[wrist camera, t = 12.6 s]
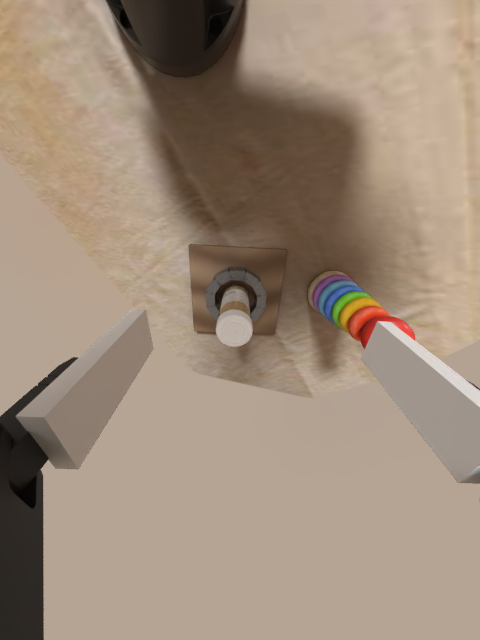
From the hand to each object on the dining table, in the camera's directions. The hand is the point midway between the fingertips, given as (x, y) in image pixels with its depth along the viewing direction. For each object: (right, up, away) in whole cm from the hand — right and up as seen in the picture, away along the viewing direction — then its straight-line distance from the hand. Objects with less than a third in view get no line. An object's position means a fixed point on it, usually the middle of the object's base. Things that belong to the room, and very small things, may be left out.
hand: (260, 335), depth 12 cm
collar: (-2, +5, +24) cm, 25 cm away
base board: (-2, +6, +26) cm, 27 cm away
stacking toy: (+15, +6, +26) cm, 31 cm away
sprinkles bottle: (-2, +6, +25) cm, 25 cm away
